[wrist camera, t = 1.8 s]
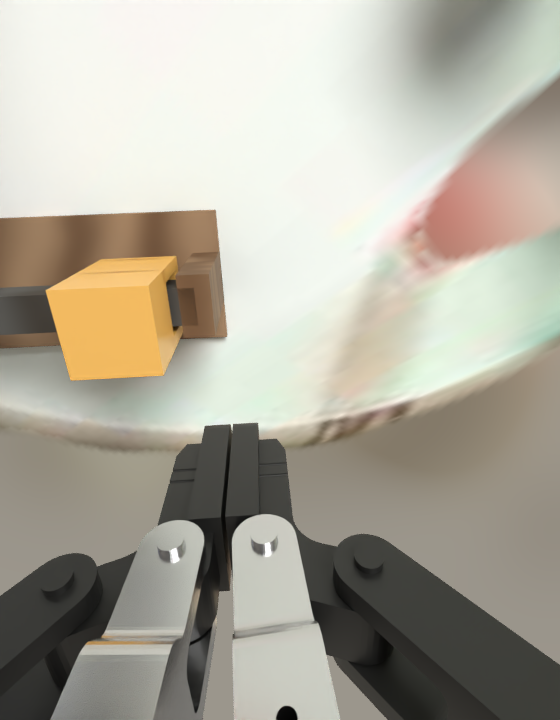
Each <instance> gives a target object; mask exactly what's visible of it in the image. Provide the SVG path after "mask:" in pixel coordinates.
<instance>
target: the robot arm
mask: <svg viewBox="0 0 560 720" xmlns="http://www.w3.org/2000/svg"><path fill="white" fill-rule="evenodd" d="M231 570H232V577H233V598H234V634H233V692H234V693H233V694H234V720H340V716H339V712H338V707H337V702H336V698H335V693H334V688H333V684H332V679H331V675H330V670H329V665H328V661H327V657H326V655H330V656H333V657H334V659H335V661H336V663H337V665H338V666H339V667H340V669H341V670H342V671H343V672H344V673H345V674H346V675H347V676H348V677H349V678H350V680H351V681H352V682H353V683H354V684H355V685H356V686H357V687H358V688H359V689H360V690H361V691H362V693H364V695H365V696H366V697H367V698H368V699H369V700H370V701H371V702H372V703H373V704H374V705H375V707H376V708H377V709H378V710H379V711H380V712H381V713H382V714H383V715H384V716H385V717H386V718H387V719H388V720H560V665H559V664H558V663H556V662H555V661H553V660H552V659H551V658H549V657H548V656H546V655H545V654H544V653H542V652H541V651H539V650H538V649H537V648H535V647H534V646H533V645H531V644H530V643H528V642H527V641H526V640H524V639H523V638H521V637H520V636H519V635H517V634H516V633H514V632H513V631H512V630H510V629H509V628H507V627H506V626H505V625H503V624H502V623H500V622H499V621H498V620H496V619H495V618H494V617H492V616H491V615H489V614H488V613H487V612H485V611H484V610H482V609H481V608H480V607H478V606H477V605H475V604H474V603H473V602H471V601H470V600H468V599H467V598H466V597H464V596H463V595H461V594H460V593H459V592H457V591H456V590H455V589H453V588H452V587H450V586H449V585H448V584H446V583H445V582H443V581H442V580H441V579H439V578H438V577H436V576H435V575H433V574H432V573H431V572H429V571H428V570H427V569H425V568H424V567H422V566H421V565H420V564H418V563H417V562H415V561H414V560H413V559H411V558H410V557H409V556H407V555H406V554H404V553H403V552H402V551H400V550H398V549H397V548H396V547H394V546H393V545H392V544H390V543H389V542H387V541H386V540H384V539H382V538H380V537H377V536H373V535H368V534H359V535H354V536H350V537H348V538H346V539H344V540H343V541H342V542H341V543H340V544H339V545H338V547H336V546H331V545H326V544H322V543H318V542H315V541H313V540H311V539H309V538H307V537H306V536H305V535H303V534H302V533H301V532H300V531H299V530H298V528H297V527H296V525H295V523H294V521H293V516H292V507H291V499H290V489H289V480H288V471H287V462H286V454H285V449H284V447H283V446H282V445H281V444H280V442H279V441H278V440H277V439H266V440H259V430H258V423H244V424H233V431H232V430H231V425H230V424H229V425H212V426H205V428H204V433H203V438H202V443H201V444H187V445H186V446H185V447H184V449H183V450H182V451H181V452H180V453H179V454H178V455H177V457H176V461H175V464H174V468H173V472H172V475H171V479H170V484H169V486H168V490H167V493H166V497H165V501H164V504H163V508H162V512H161V515H160V519H159V523H158V526H157V527H155V528H154V529H152V530H151V531H150V532H149V533H148V534H147V535H146V536H145V537H144V538H143V540H142V541H141V543H140V545H139V547H138V550H137V551H136V552H134V553H132V554H130V555H128V556H126V557H123V558H121V559H118V560H115V561H112V562H109V563H106V564H103V565H101V566H98V567H97V566H96V564H95V562H94V560H93V559H92V558H91V557H89V556H87V555H84V554H79V553H73V554H66V555H62V556H59V557H57V558H54V559H52V560H51V561H48V562H47V563H45V564H44V565H42V566H41V567H39V568H38V569H37V570H35V571H34V572H33V573H31V574H30V575H28V576H27V577H26V578H24V579H23V580H22V581H20V582H19V583H17V584H16V585H15V586H13V587H12V588H11V589H9V590H8V591H6V592H5V593H4V594H3V595H1V596H0V720H203V712H204V706H205V699H206V693H207V687H208V679H209V674H210V667H211V660H212V654H213V648H214V641H215V635H216V628H217V620H216V615H217V608H218V596H219V591H229V590H230V577H231Z"/></svg>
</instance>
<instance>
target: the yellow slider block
mask: <svg viewBox="0 0 560 720" xmlns="http://www.w3.org/2000/svg"><path fill="white" fill-rule="evenodd" d="M177 272H178V265H177V258H176V256H165V257H142V258H119V259H101V260H99V261H97V262H95V263H94V264H92V265H90V266H88V267H86V268H85V269H83V270H81V271H79V272H78V273H76V274H74V275H72V276H70V277H69V278H67V279H65V280H63V281H61V282H60V283H58V284H56V285H54V286H53V287H51V288H49V289H47V290H46V294H47V298H48V301H49V305H50V308H51V312H52V315H53V319H54V323H55V326H56V330H57V333H58V337H59V341H60V344H61V348H62V351H63V355H64V358H65V362H66V366H67V369H68V373H69V376H70V380H71V381H73V380H91V379H110V378H128V377H146V376H164V374H165V371H166V369H167V367H168V365H169V362H170V360H171V358H172V356H173V354H174V351H175V349H176V347H177V345H178V342H179V340H180V338H181V336H182V333H183V327H182V326H172V320H171V314H170V307H169V301H168V294H167V288H166V282H167V281H168V280H176V278H175V275H176V274H177Z"/></svg>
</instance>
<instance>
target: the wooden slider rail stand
mask: <svg viewBox="0 0 560 720" xmlns="http://www.w3.org/2000/svg"><path fill="white" fill-rule="evenodd" d="M165 256H176V258H177V265H178V272H177V274H176V275H175V278H176V280H168V281H167V282H166V288H167V294H168V301H169V307H170V314H171V320H172V326H182V327H183V333H182V336H181V338H180V339H191V338H210V337H227V326H226V316H225V305H224V294H223V284H222V273H221V262H220V251H219V241H218V230H217V219H216V210H197V211H172V212H147V213H122V214H97V215H71V216H46V217H21V218H0V348H17V347H37V346H56V345H61V344H60V341H59V337H58V333H57V330H56V326H55V323H54V319H53V315H52V312H51V308H50V305H49V301H48V298H47V294H46V290H47V289H49V288H51V287H53V286H54V285H56V284H58V283H60V282H61V281H63V280H65V279H67V278H69V277H70V276H72V275H74V274H76V273H78V272H79V271H81V270H83V269H85V268H86V267H88V266H90V265H92V264H94V263H95V262H97V261H99V260H101V259H119V258H142V257H165Z"/></svg>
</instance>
